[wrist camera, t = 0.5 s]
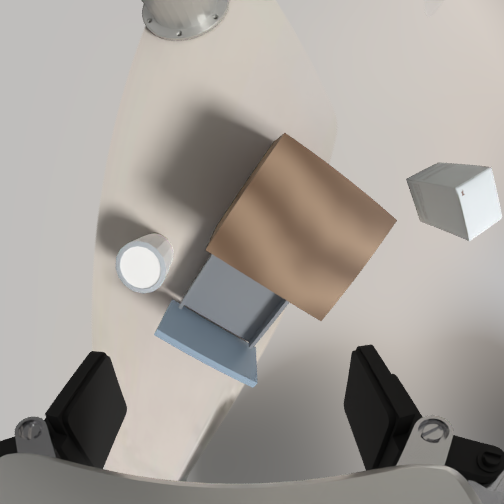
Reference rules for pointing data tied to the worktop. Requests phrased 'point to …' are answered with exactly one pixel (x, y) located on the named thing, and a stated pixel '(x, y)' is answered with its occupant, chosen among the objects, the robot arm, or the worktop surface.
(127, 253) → the shot glass
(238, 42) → the worktop surface
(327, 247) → the tan storage bin
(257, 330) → the tray
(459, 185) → the supplement box
